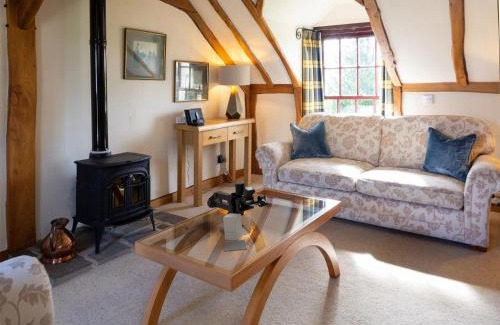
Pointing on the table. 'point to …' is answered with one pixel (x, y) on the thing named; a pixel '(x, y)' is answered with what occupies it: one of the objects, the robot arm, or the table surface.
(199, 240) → the table surface
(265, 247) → the table surface
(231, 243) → the mat
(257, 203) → the robot arm
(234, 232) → the supplement box
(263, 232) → the table surface
